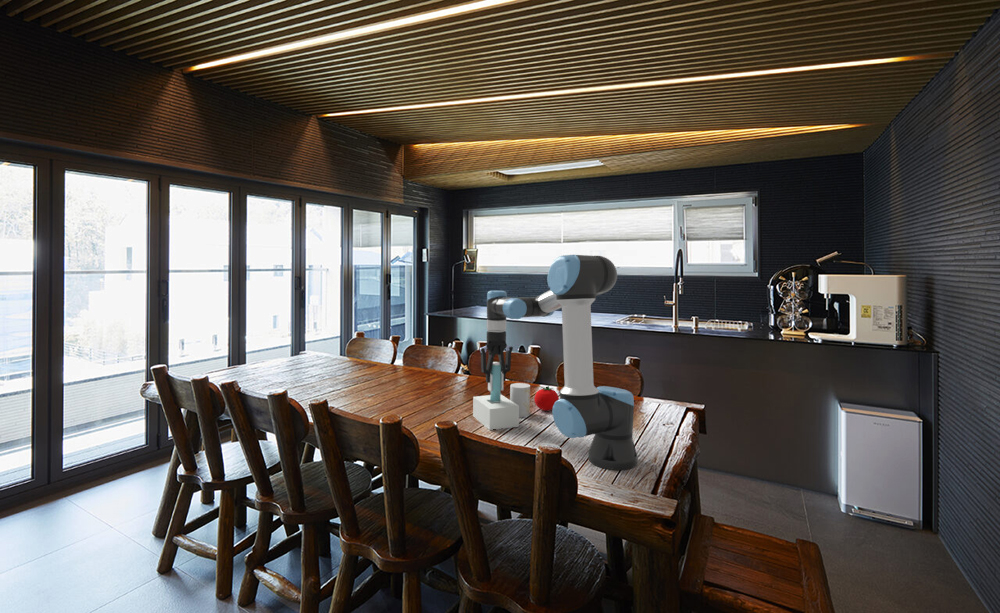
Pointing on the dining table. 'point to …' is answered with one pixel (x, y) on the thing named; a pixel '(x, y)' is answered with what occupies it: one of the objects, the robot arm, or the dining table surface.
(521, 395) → the white cylinder
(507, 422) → the socket
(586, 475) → the dining table surface
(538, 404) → the tomato
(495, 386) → the peg
